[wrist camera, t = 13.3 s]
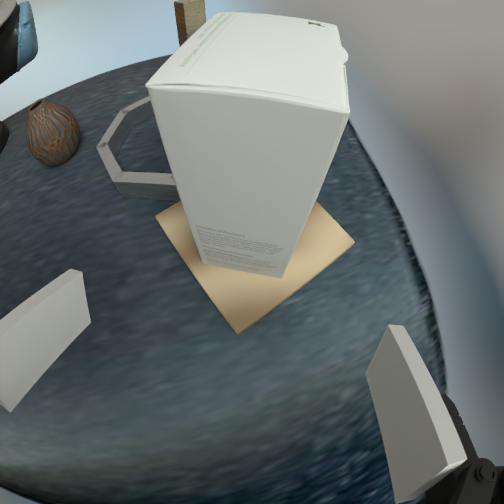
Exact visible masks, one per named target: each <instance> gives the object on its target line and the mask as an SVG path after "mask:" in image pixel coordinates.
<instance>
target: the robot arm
mask: <svg viewBox="0 0 504 504" xmlns="http://www.w3.org/2000/svg"><path fill="white" fill-rule="evenodd" d="M37 52H38V42H37V35H36V29H35V24H34V18H33V13H32V9H31V5H30V4H29V1H25V2H22V3H20V4H19V5H18V4H17V2H16V0H0V84H1V83H3V82H4V81H5V80H6V79H8V78H9V77H10V76H12V75H13V74H15V73H16V72H19V70H20V69H21V68H22V67H23V66H25V65H26V64H28V63H29V62H30V61H32V60H33V59H34V58H35V56H36V55H37ZM8 134H9V132H8V129H7V128H6V126H5V125H4V124H3V123H2V122H1V121H0V152H1V150H2V149H3V147H4V145H5V143H6V141H7V138H8ZM90 323H91V320H90V315H89V310H88V305H87V299H86V293H85V287H84V281H83V274H82V272H81V271H77V270H74V269H69V270H68V271H66V272H65V273H63V274H62V275H60V276H59V277H57V278H56V279H55V280H53V281H52V282H50V283H49V284H47V285H46V286H45V287H43V288H42V289H40V290H39V291H38V292H36V293H35V294H34V295H32V296H31V297H29V298H28V299H27V300H25V301H24V302H23V303H21V304H20V305H19V306H17V307H16V308H15V309H14V310H12V311H11V312H10V313H8V314H7V315H4V316H2V317H1V318H0V405H1V406H3V407H4V408H5V409H6V410H7V411H9V412H10V413H11V412H12V411H13V409H14V408H15V407H16V406H17V404H18V403H19V402H20V401H21V399H22V398H23V397H24V396H25V395H26V393H27V392H28V391H29V390H30V389H31V388H32V386H33V385H34V384H35V383H36V382H37V380H38V379H39V378H40V377H41V376H42V375H43V374H44V372H45V371H46V370H47V369H48V368H49V367H50V366H51V365H52V363H53V362H54V361H55V360H56V359H57V358H58V357H59V356H60V355H61V354H62V352H63V351H64V350H65V349H66V348H67V347H68V346H69V345H70V344H71V343H72V342H73V341H74V340H75V338H76V337H77V336H78V335H79V334H80V333H81V332H82V331H83V330H84V329H85V328H86V327H87V326H88V325H89V324H90ZM365 374H366V378H367V381H368V385H369V388H370V392H371V395H372V399H373V403H374V406H375V410H376V414H377V418H378V422H379V426H380V430H381V434H382V438H383V442H384V447H385V451H386V456H387V460H388V465H389V470H390V475H391V480H392V486H393V491H394V497H395V503H400V502H405V501H409V500H413V499H415V498H417V497H418V496H420V495H421V494H423V493H424V492H425V493H426V498H425V499H423V500H422V501H420V502H419V503H417V504H504V466H498V467H495V466H494V464H493V463H492V462H491V461H490V460H488V459H485V458H478V456H477V454H476V451H475V449H474V447H473V444H472V442H471V439H470V437H469V434H468V432H467V430H466V428H465V426H464V425H463V421H462V419H461V417H459V413H458V410H457V408H456V406H455V404H454V403H453V402H452V401H451V400H450V399H449V397H448V396H447V395H446V394H443V395H440V393H439V391H438V389H437V387H436V385H435V383H434V381H433V379H432V377H431V375H430V373H429V371H428V369H427V368H426V366H425V364H424V362H423V360H422V358H421V356H420V354H419V353H418V351H417V349H416V347H415V345H414V344H413V342H412V340H411V338H410V337H409V335H408V333H407V331H406V330H405V328H404V326H401V325H387V328H386V330H385V332H384V335H383V337H382V339H381V341H380V344H379V346H378V348H377V350H376V352H375V354H374V357H373V359H372V361H371V363H370V365H369V367H368V369H367V371H366V373H365Z"/></svg>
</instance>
